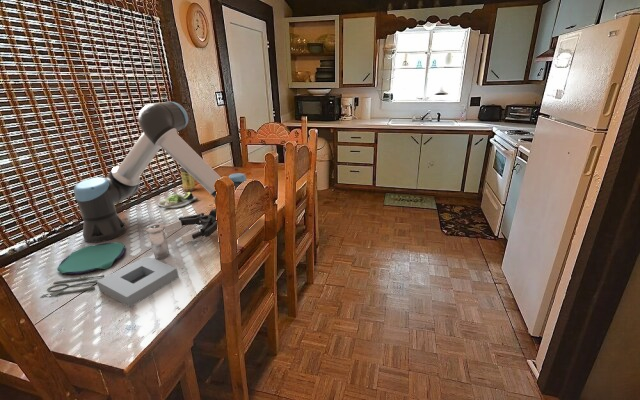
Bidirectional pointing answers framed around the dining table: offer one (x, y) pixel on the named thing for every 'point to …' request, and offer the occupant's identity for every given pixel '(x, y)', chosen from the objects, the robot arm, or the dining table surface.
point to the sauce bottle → (187, 180)
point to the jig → (137, 280)
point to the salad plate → (177, 200)
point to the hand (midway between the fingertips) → (173, 234)
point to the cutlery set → (87, 264)
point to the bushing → (158, 240)
